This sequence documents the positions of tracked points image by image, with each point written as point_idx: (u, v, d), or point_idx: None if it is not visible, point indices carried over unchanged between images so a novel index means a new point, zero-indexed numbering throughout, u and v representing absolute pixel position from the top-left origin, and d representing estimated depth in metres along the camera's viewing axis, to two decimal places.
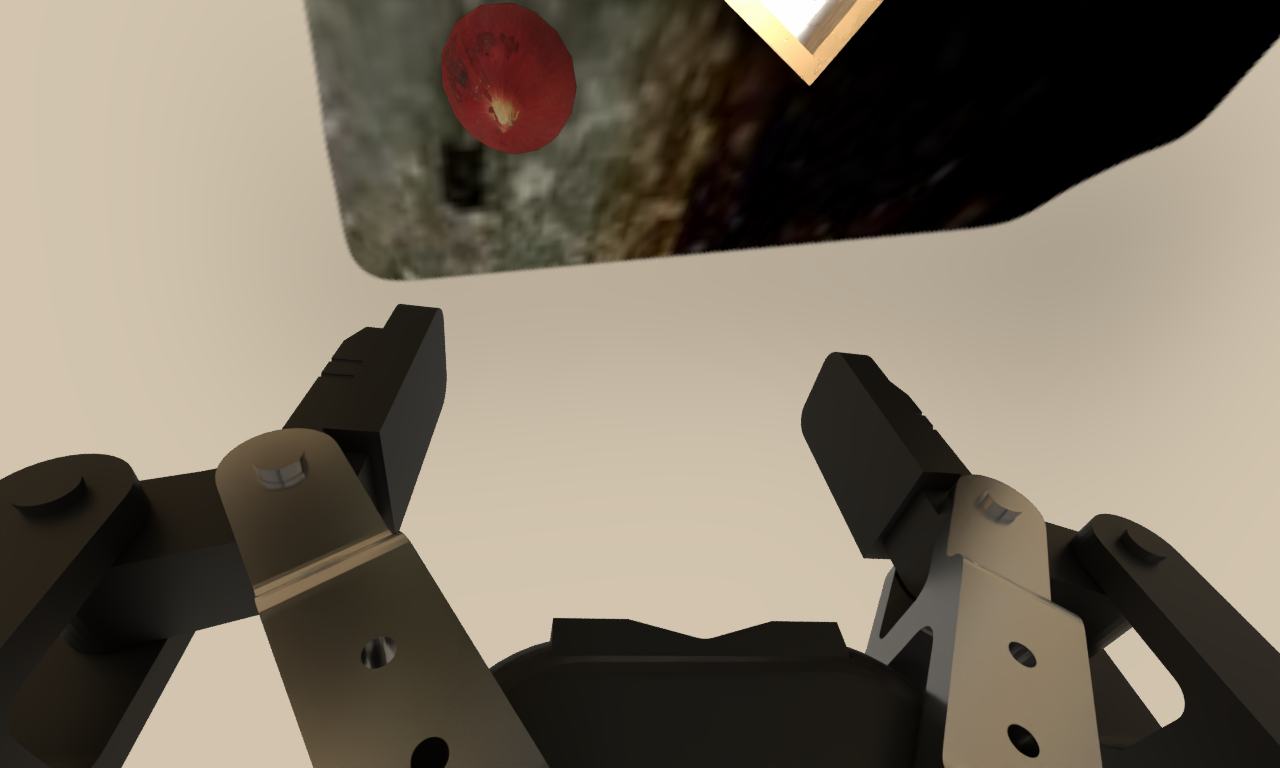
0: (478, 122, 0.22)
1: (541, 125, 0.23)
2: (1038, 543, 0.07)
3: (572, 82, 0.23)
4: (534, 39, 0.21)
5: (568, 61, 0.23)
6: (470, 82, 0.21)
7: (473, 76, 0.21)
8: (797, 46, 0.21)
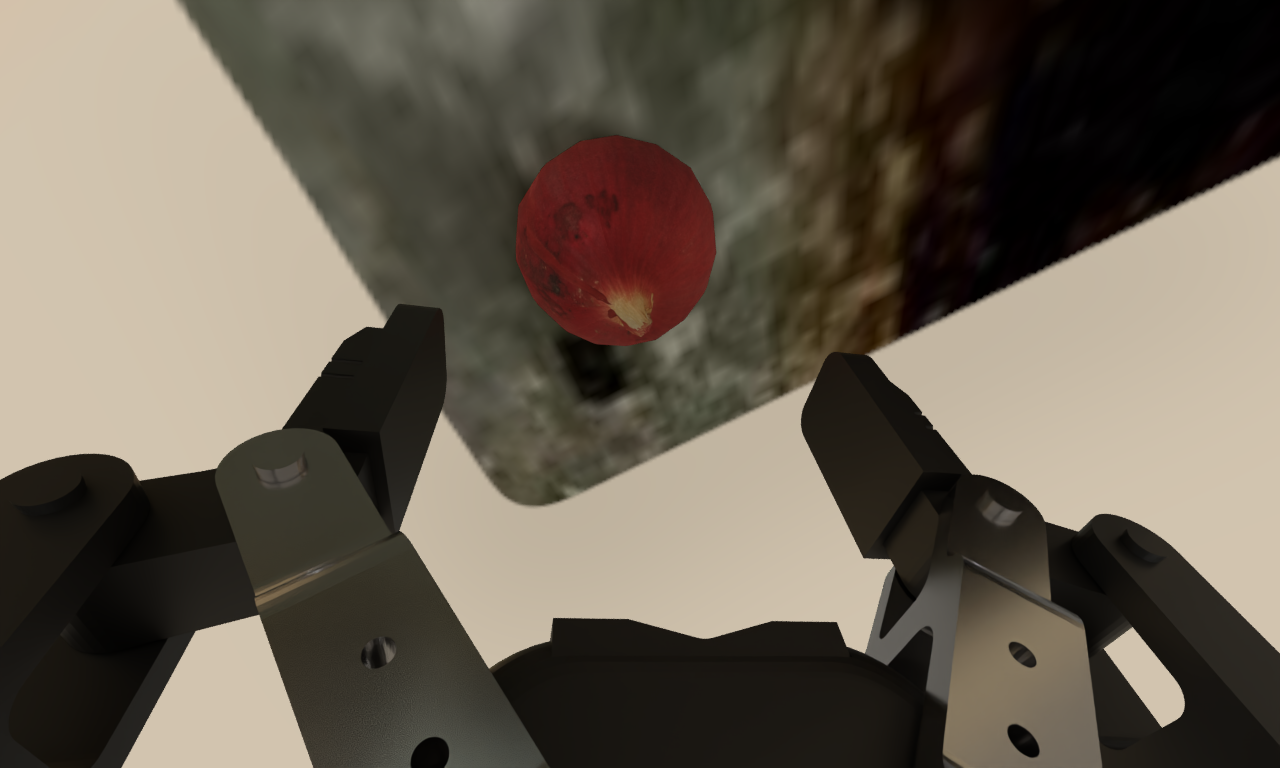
0: (597, 331, 0.14)
1: (688, 290, 0.14)
2: (1038, 543, 0.07)
3: (706, 203, 0.14)
4: (634, 176, 0.13)
5: (691, 177, 0.14)
6: (568, 286, 0.13)
7: (569, 277, 0.13)
8: None
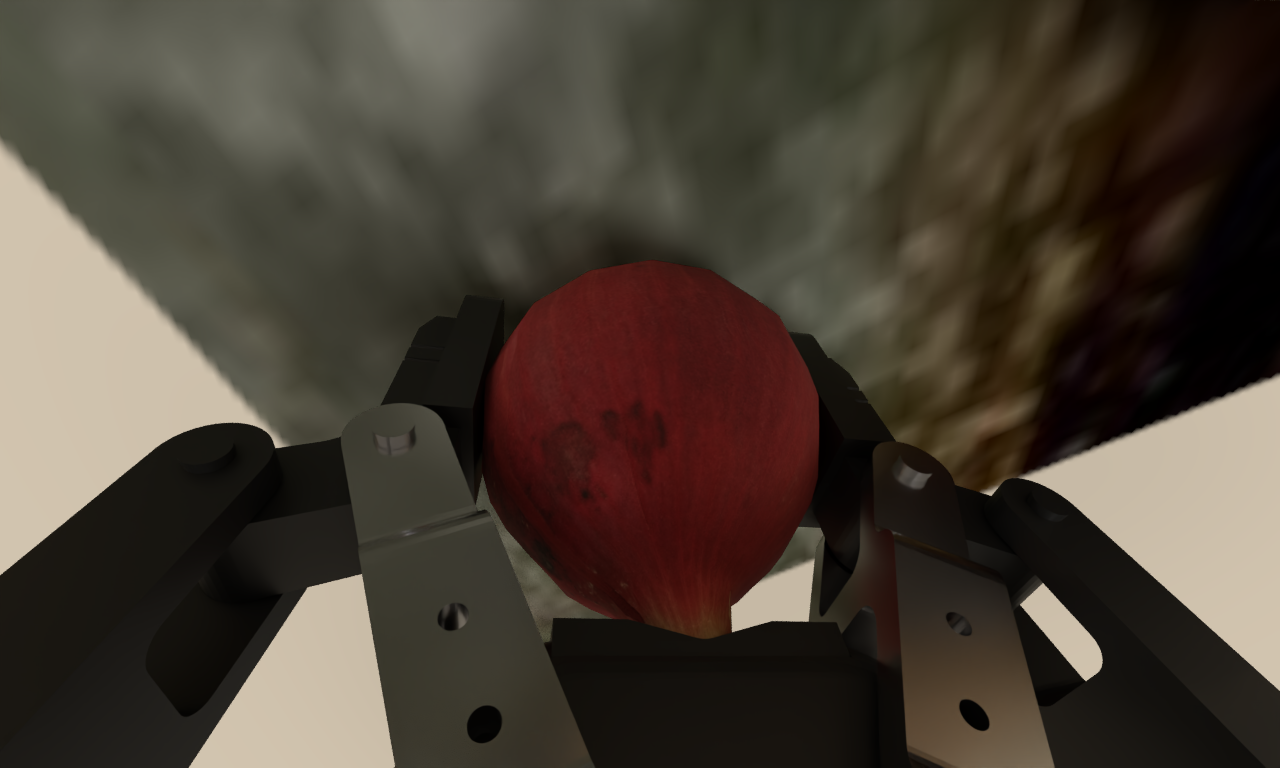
0: None
1: (783, 547, 0.08)
2: (943, 503, 0.07)
3: (809, 381, 0.08)
4: (694, 370, 0.07)
5: (787, 346, 0.08)
6: (568, 571, 0.07)
7: (570, 559, 0.07)
8: None
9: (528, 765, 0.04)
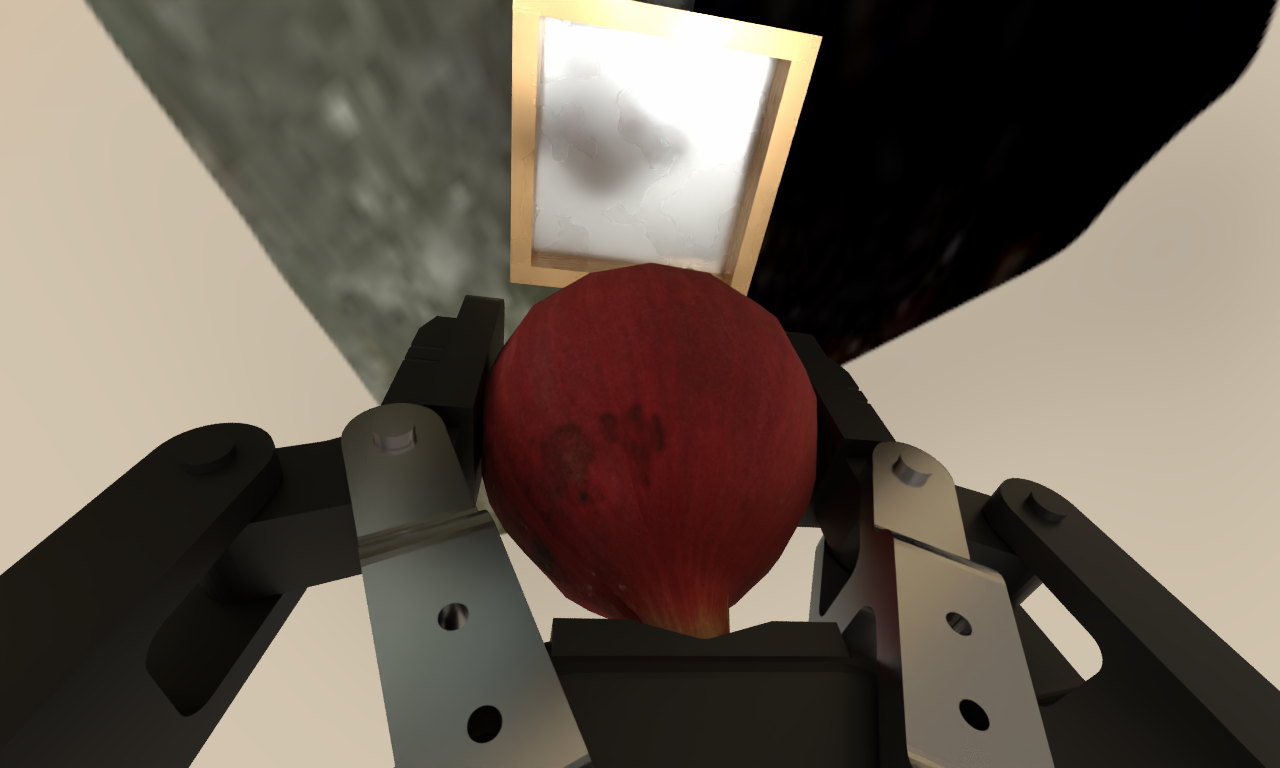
0: None
1: (782, 549, 0.08)
2: (943, 502, 0.07)
3: (807, 383, 0.08)
4: (692, 373, 0.07)
5: (785, 348, 0.08)
6: (568, 574, 0.07)
7: (569, 561, 0.07)
8: None
9: (528, 765, 0.04)
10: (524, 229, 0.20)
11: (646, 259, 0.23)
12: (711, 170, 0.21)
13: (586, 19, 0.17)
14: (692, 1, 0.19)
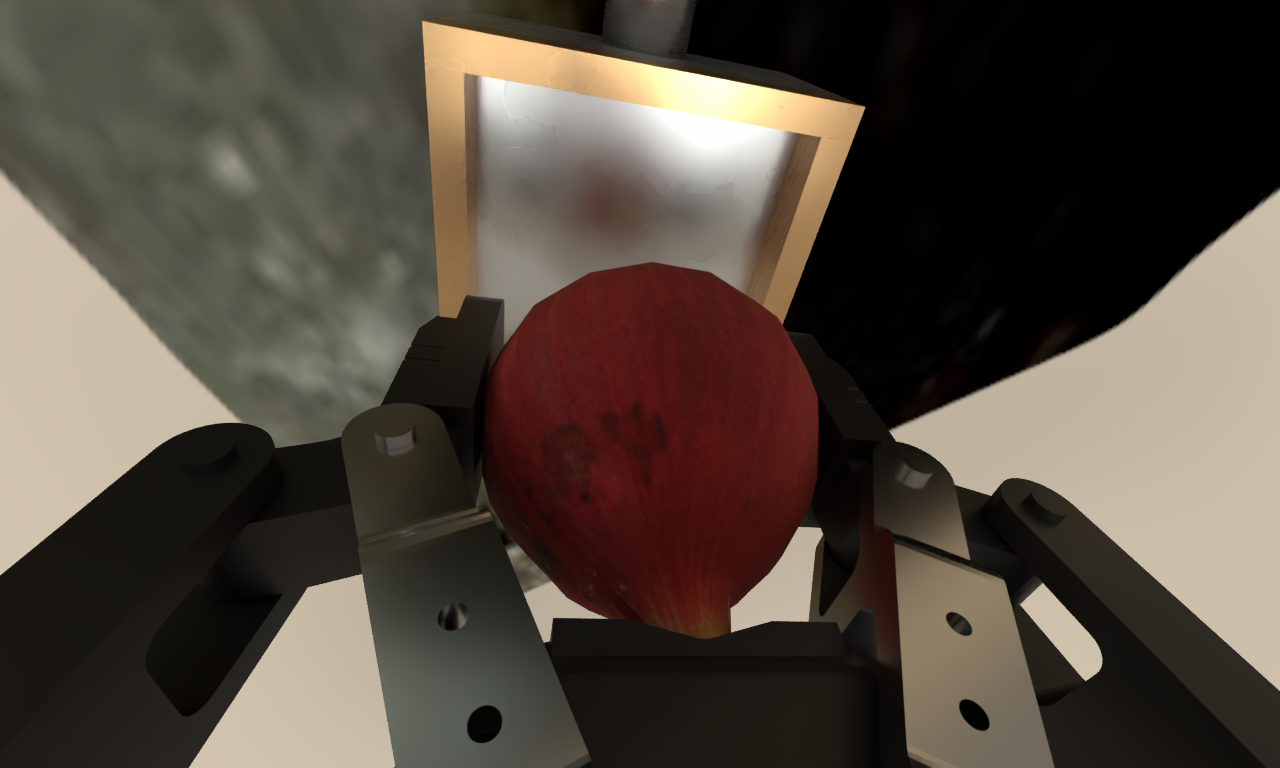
0: None
1: (783, 550, 0.08)
2: (943, 502, 0.07)
3: (808, 383, 0.08)
4: (694, 373, 0.07)
5: (787, 348, 0.08)
6: (568, 573, 0.07)
7: (570, 561, 0.07)
8: None
9: (528, 765, 0.04)
10: None
11: None
12: (707, 261, 0.16)
13: (533, 79, 0.12)
14: (685, 44, 0.14)
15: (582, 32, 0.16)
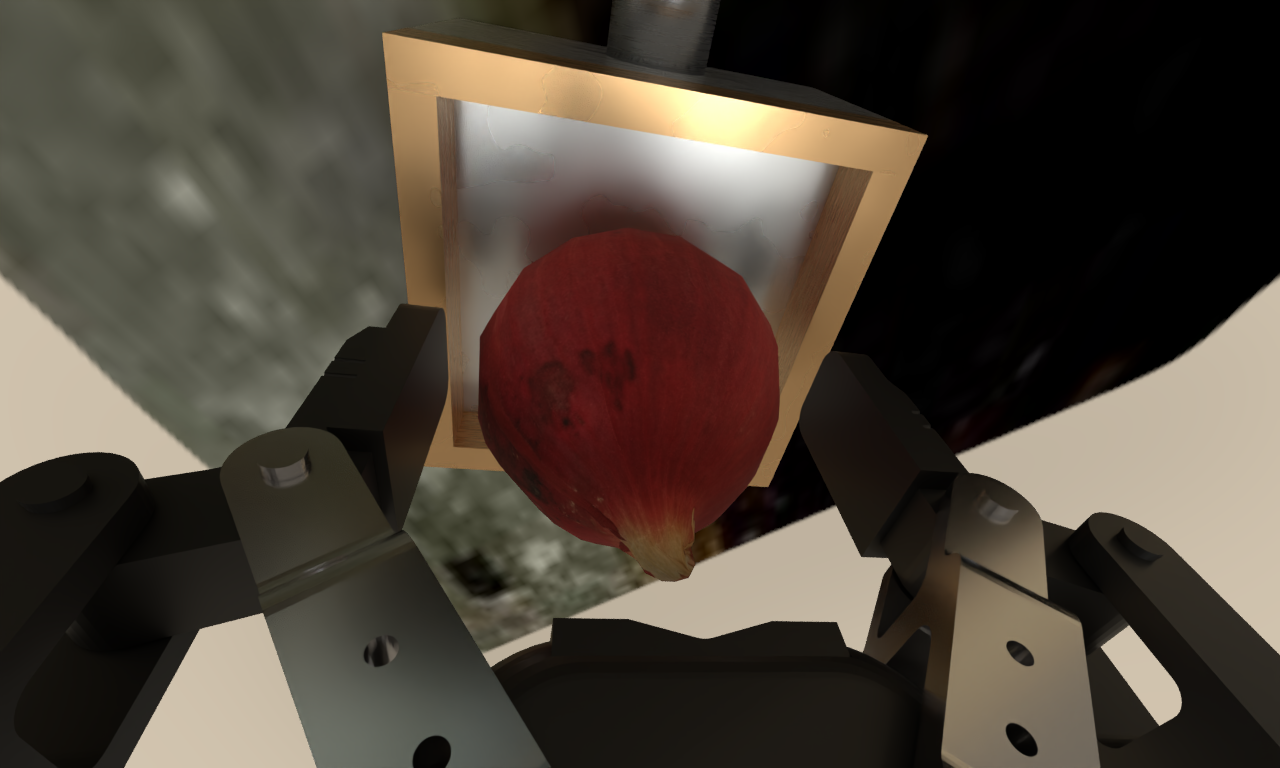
0: (603, 544, 0.09)
1: (745, 478, 0.09)
2: (1034, 541, 0.07)
3: (768, 333, 0.09)
4: (660, 316, 0.08)
5: (747, 299, 0.09)
6: (554, 494, 0.08)
7: (554, 482, 0.08)
8: None
9: None
10: None
11: None
12: None
13: (522, 103, 0.09)
14: (705, 57, 0.12)
15: None
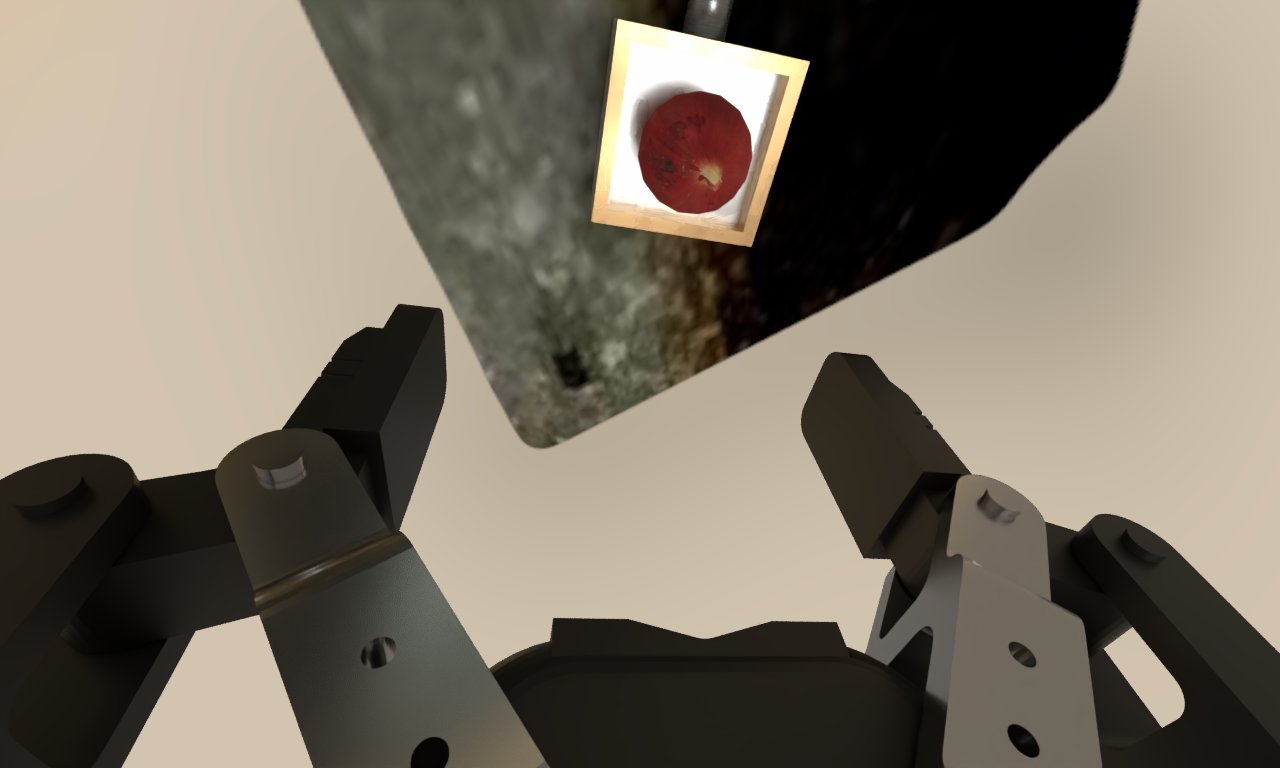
0: (689, 194, 0.25)
1: (738, 172, 0.25)
2: (1038, 543, 0.07)
3: (747, 127, 0.26)
4: (712, 108, 0.24)
5: (740, 112, 0.26)
6: (676, 166, 0.25)
7: (677, 160, 0.24)
8: (731, 233, 0.32)
9: None
10: (605, 183, 0.30)
11: None
12: None
13: (661, 45, 0.26)
14: (724, 33, 0.29)
15: None
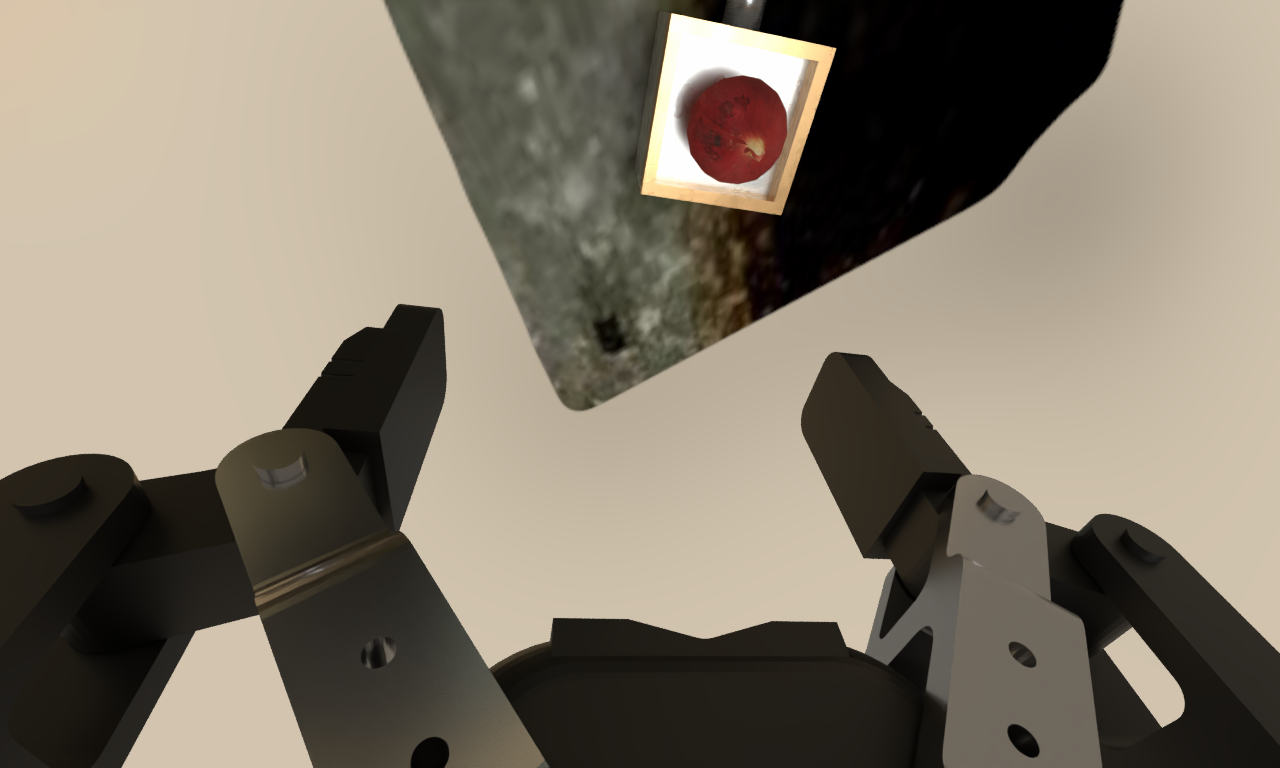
0: (735, 165, 0.29)
1: (777, 145, 0.29)
2: (1038, 543, 0.07)
3: (783, 106, 0.30)
4: (755, 89, 0.28)
5: (777, 93, 0.30)
6: (725, 140, 0.29)
7: (726, 135, 0.28)
8: (763, 202, 0.36)
9: None
10: (654, 159, 0.34)
11: (721, 183, 0.37)
12: None
13: (707, 36, 0.30)
14: (759, 24, 0.33)
15: None
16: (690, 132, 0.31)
